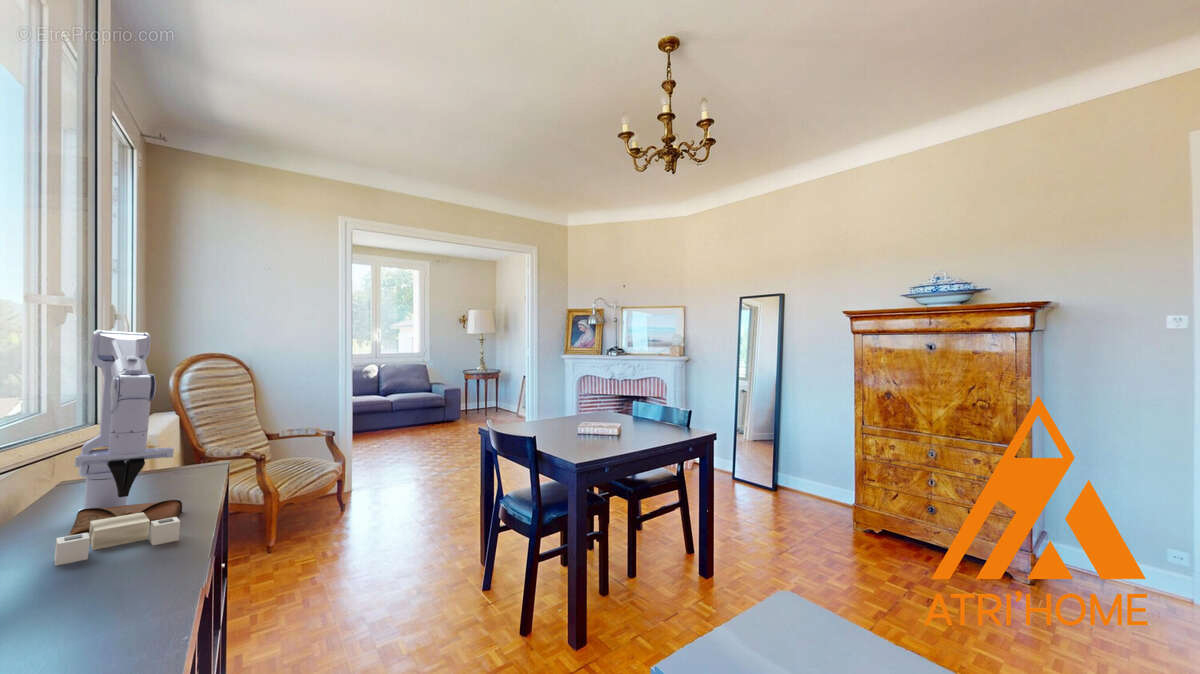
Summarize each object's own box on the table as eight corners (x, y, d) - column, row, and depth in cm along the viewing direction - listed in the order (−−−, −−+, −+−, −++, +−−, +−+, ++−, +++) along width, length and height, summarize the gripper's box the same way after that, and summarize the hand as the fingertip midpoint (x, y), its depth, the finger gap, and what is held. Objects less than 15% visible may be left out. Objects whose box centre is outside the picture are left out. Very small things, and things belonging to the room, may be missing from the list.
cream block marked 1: (54, 559, 87) (56, 536, 87) (85, 553, 90) (88, 531, 90) (55, 566, 85) (57, 542, 85) (87, 559, 88) (90, 537, 88)
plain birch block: (88, 540, 97) (90, 521, 97) (141, 530, 103) (143, 512, 103) (92, 551, 92) (94, 530, 92) (148, 540, 98) (150, 521, 98)
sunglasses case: (63, 536, 97) (71, 504, 100) (70, 544, 102) (77, 513, 105) (178, 521, 108) (182, 492, 111) (180, 529, 113) (183, 501, 116)
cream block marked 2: (149, 540, 97) (151, 520, 98) (174, 535, 100) (176, 515, 101) (152, 545, 95) (154, 525, 95) (178, 540, 98) (180, 520, 98)
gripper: (80, 437, 90) (72, 507, 90) (178, 430, 102) (172, 493, 101) (76, 432, 95) (69, 499, 94) (171, 426, 106) (166, 486, 105)
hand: (122, 495), depth 98 cm, fingers closed
